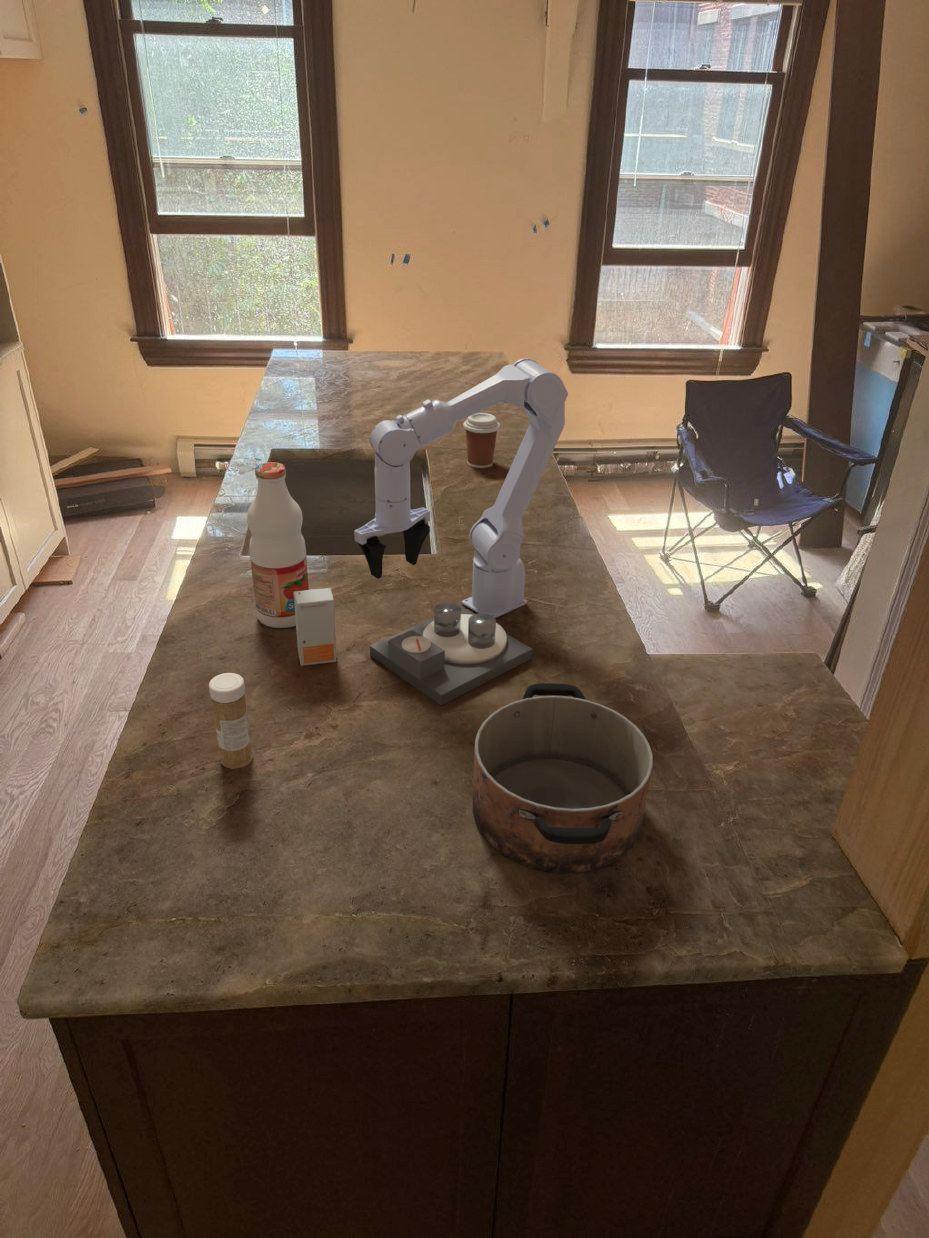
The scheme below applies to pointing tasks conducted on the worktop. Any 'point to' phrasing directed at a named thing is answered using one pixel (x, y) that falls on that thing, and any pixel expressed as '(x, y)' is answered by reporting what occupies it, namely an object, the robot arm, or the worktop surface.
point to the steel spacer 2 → (481, 631)
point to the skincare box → (315, 626)
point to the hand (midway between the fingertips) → (394, 569)
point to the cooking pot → (560, 781)
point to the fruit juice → (276, 548)
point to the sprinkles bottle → (231, 720)
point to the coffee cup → (481, 439)
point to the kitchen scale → (448, 659)
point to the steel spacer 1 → (447, 619)
